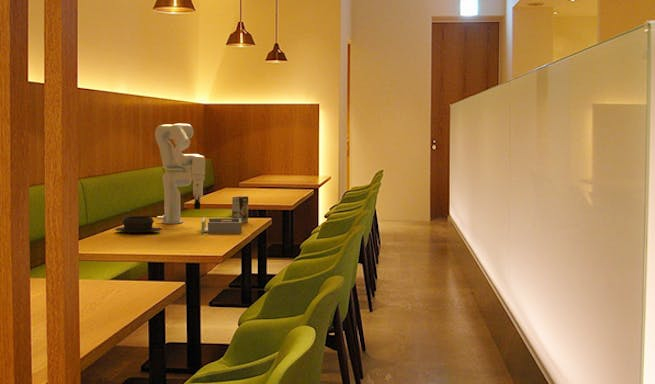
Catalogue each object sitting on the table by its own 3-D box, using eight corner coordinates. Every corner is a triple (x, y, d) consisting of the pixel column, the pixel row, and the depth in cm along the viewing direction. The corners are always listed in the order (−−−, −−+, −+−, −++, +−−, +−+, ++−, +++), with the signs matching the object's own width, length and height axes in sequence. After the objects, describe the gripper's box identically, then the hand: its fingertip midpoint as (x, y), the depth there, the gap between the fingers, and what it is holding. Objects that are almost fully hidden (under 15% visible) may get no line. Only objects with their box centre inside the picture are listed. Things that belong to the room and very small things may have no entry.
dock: (207, 233, 406) (207, 222, 405) (209, 228, 425) (209, 218, 425) (241, 233, 408) (241, 222, 408) (241, 228, 428) (241, 218, 427)
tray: (201, 232, 405) (201, 221, 405) (203, 227, 425) (203, 217, 425) (237, 232, 408) (237, 221, 407) (237, 227, 428) (237, 217, 427)
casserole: (165, 231, 413) (165, 216, 412) (155, 235, 395) (154, 220, 394) (122, 229, 415) (122, 215, 415) (109, 234, 397) (109, 219, 396)
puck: (221, 229, 413) (221, 221, 413) (220, 227, 419) (221, 220, 419) (232, 229, 414) (232, 221, 414) (231, 227, 420) (231, 219, 420)
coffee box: (240, 223, 448) (240, 197, 447) (231, 223, 451) (231, 196, 449) (248, 222, 456) (248, 196, 455) (239, 221, 459) (239, 195, 458)
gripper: (203, 179, 413) (202, 211, 416) (205, 175, 428) (204, 207, 431) (190, 178, 413) (189, 210, 415) (192, 175, 427) (191, 206, 430)
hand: (197, 208), depth 423 cm, fingers closed
